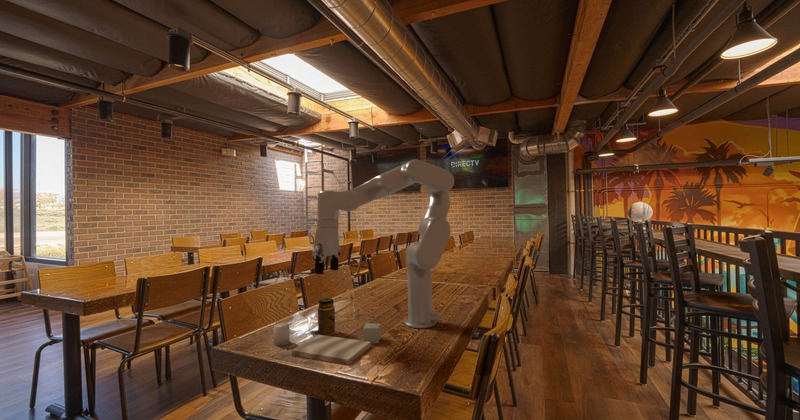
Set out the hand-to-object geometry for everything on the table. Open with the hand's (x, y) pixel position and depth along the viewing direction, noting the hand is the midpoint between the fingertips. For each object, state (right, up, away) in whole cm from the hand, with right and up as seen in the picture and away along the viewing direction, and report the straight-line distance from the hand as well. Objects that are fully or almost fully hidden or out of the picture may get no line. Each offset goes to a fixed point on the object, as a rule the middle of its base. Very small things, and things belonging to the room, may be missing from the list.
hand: (326, 272), depth 120 cm
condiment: (-1, -23, +1) cm, 23 cm away
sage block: (+17, -22, -7) cm, 29 cm away
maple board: (+5, -22, -15) cm, 27 cm away
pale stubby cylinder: (-13, -23, -8) cm, 27 cm away
